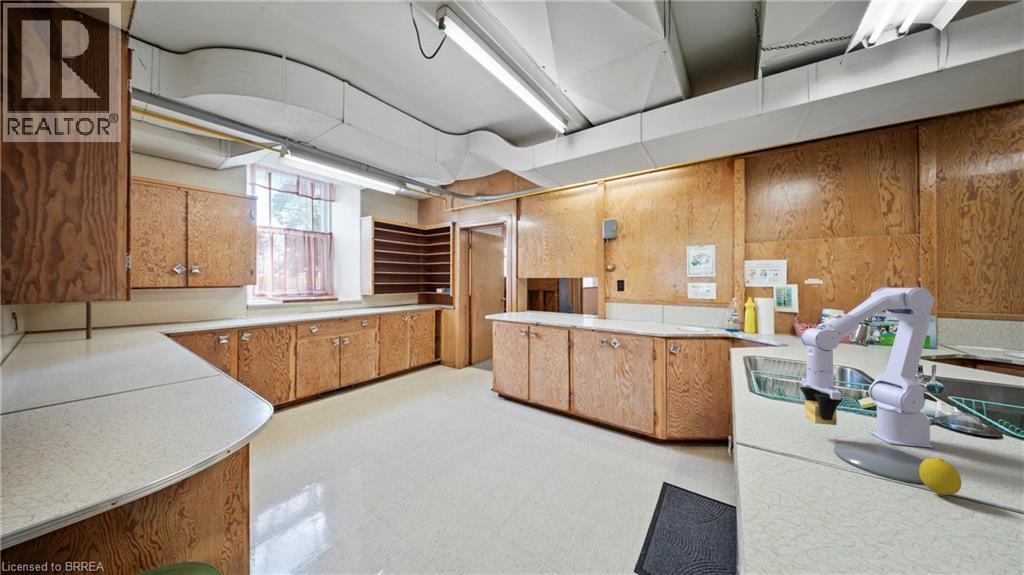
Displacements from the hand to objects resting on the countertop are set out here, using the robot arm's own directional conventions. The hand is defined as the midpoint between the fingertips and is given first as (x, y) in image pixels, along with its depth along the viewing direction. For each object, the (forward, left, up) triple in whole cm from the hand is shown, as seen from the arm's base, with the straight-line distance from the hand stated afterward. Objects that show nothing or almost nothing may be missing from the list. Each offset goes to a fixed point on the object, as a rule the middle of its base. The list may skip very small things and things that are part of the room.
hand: (820, 415), depth 97 cm
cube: (0, 0, -1) cm, 1 cm away
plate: (-7, +12, -7) cm, 15 cm away
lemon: (-8, +25, -7) cm, 27 cm away
